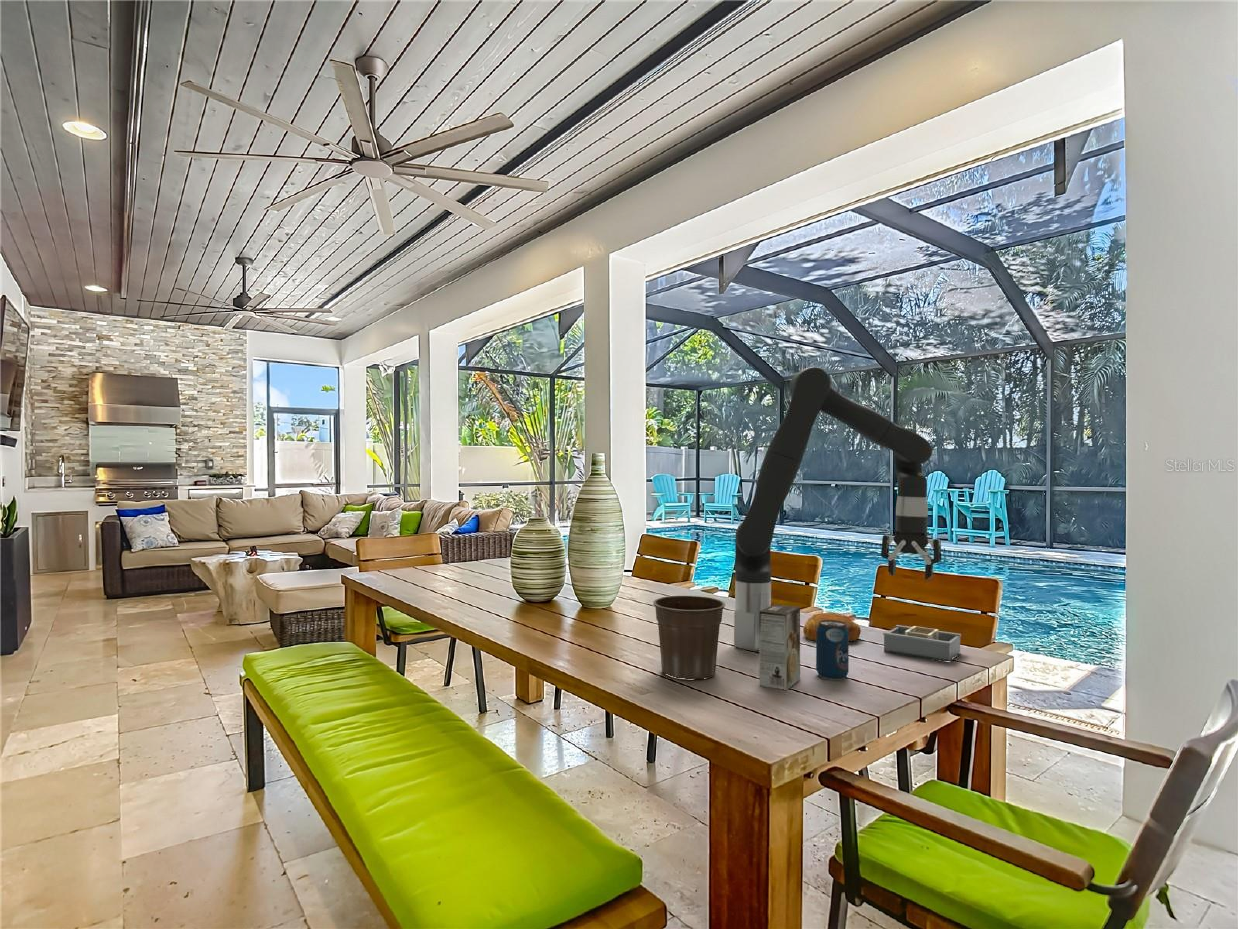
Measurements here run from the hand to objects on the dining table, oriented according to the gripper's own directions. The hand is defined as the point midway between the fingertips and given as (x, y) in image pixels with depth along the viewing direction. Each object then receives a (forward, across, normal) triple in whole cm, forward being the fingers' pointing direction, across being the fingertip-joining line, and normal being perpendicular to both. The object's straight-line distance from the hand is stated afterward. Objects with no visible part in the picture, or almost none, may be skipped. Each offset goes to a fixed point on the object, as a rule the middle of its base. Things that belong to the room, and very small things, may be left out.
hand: (910, 577), depth 174 cm
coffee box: (+20, -14, -46) cm, 52 cm away
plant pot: (+20, -32, -54) cm, 66 cm away
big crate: (+19, +3, +1) cm, 19 cm away
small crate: (+18, +3, +1) cm, 19 cm away
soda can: (+20, -7, -34) cm, 40 cm away
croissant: (+20, -21, +1) cm, 29 cm away
